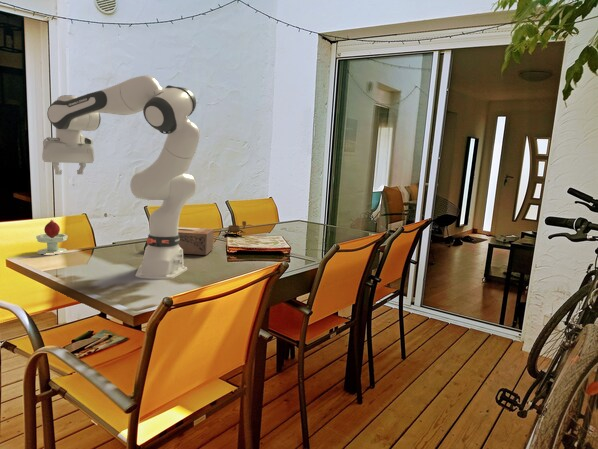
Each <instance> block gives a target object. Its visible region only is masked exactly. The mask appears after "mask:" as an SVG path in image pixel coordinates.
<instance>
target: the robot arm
mask: <svg viewBox="0 0 598 449" xmlns="http://www.w3.org/2000/svg"><path fill="white" fill-rule="evenodd" d="M196 107H197V101H196V97H195V95H194V93H193V92H192V91H191V90H189V89H188V88H185V87H183V86H182V87H180V86H173V85H166V86H165V87H163V86H161V85H160V83H159V81H158V80H157V79H156V78H154V77H153V76H151V75H148V74H147V75H146V74H145V75H144V74H143V75H139V76H135V77H132V78H129V79H126V80H124V81H121V82H119V83H117V84H115V85H112V86H109V87H107V88H104V89H100V90H97V91H93V92H90V93H87V94H84V95H81V96H76V95H71V94H70V95H69V94H68V95H61V96H58V97H57V99H56V100H55V101H53V102H52V103H51V104H50V105H49V107H48V108H47V118H48V120H49V123H51V125H52V126H53V127H54V128H55V137H50V136H48V137H46V138H45V139H43V141H42V144H43V145H42V146H43V147H42V152H41V153H42V154H41V157H42V161H43V162H45V163H51V166H52V167H53V169H54V172H55V175H58V176H59V175H61V176H62V173H63V172H62V171H63V170H62V169H60V167H59V166H60V163H61V164H62V163H67V164H68V163H69V164H70V163H71V164H79V165H78V166H79V167H78V169H77V170H76V174H77V175H84V170H85V168H86V165H87V164H93V162H94V161H95V149H94V147H93V145H94V140H93V139H91V138H89V137H87V136H85V135H83V134H82V131H84V132H92V131H96V130H97V129H98V128H99V127H100V125H101V119H102V118H101V114H108V115H111V114H112V115H118V116H129V115H134V114H137V113H139V112H143V116H144V119H145V121H146V122H147V123H148V125H150V127H151V128H153V129H155V130H157V131H159V132H160V133H161V134H164V135H167V136H166V139H165V141H164V144H163V146H162V149H161V152H160V154H159V155H158V157H157V158H156V160H154V161H153V163H151V164H150V166H148V167H146V168H145V169H143V170H142V171H138V172H136V173H135V174H134V175H133V176H132V178H131V179H130V183H129V187H130V191H131V193H132V195H133V196H134V197H135V198H137V199H140V200H147V201H162V204H161V205H160V207H158V208H157V209H155V210H153V211H151V212H152V213H150V215H149V219H148V220H149V221H148V223H149V229H148V231H149V232H148V235H147V238H146V243H147V246H146V247H145V250H144V254H143V257H142V259H141V261H142V262H141V264H140V265H139V266H138V269H137V271H136V273H135V277H136V278H140V279H148V280H172V279H173V280H174V278H176V277H178V276H180V275H182V274H183V273H185V272H187V271H188V267H187V266H185V265H184V254H183V249H182V248H181V247H180V246H179V240H180V238H179V234H178V228H179V227H180V226H179V224H180V216H181V212H182V210H183V208H184V206H185V205H186V203H187V202H188V201H189V200H190V199H191V198H192V197H193V196H194V195H195V193H196V191H197V182H196V180H195V177H194V176H193V175H192V174H189V173H186V172H187V171H188V170H189V168H190V165H191V164H192V161H193V158H194V157H195V154H196V151H197V148H198V145H199V142H200V136H201V134H200V129H199V127H198V125H196V124H195V123H194V122H193V121H191V120H190V119H189V118H188V117H190V116H191V115H192V114H193V112H194V111H195V109H196Z"/></svg>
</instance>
